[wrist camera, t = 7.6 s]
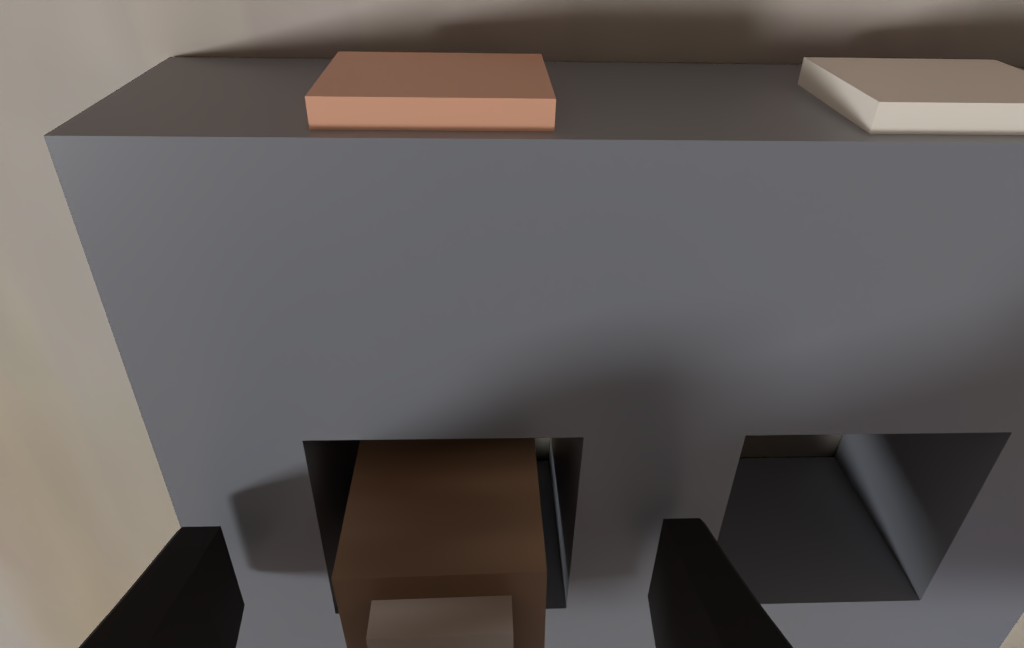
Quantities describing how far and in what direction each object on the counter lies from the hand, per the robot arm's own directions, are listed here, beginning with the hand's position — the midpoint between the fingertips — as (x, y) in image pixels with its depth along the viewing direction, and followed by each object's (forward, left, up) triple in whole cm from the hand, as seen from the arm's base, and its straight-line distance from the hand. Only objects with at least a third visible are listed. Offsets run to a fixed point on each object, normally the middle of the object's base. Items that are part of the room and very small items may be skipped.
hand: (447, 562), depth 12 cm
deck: (-3, 0, -5) cm, 6 cm away
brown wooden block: (0, 0, -5) cm, 5 cm away
